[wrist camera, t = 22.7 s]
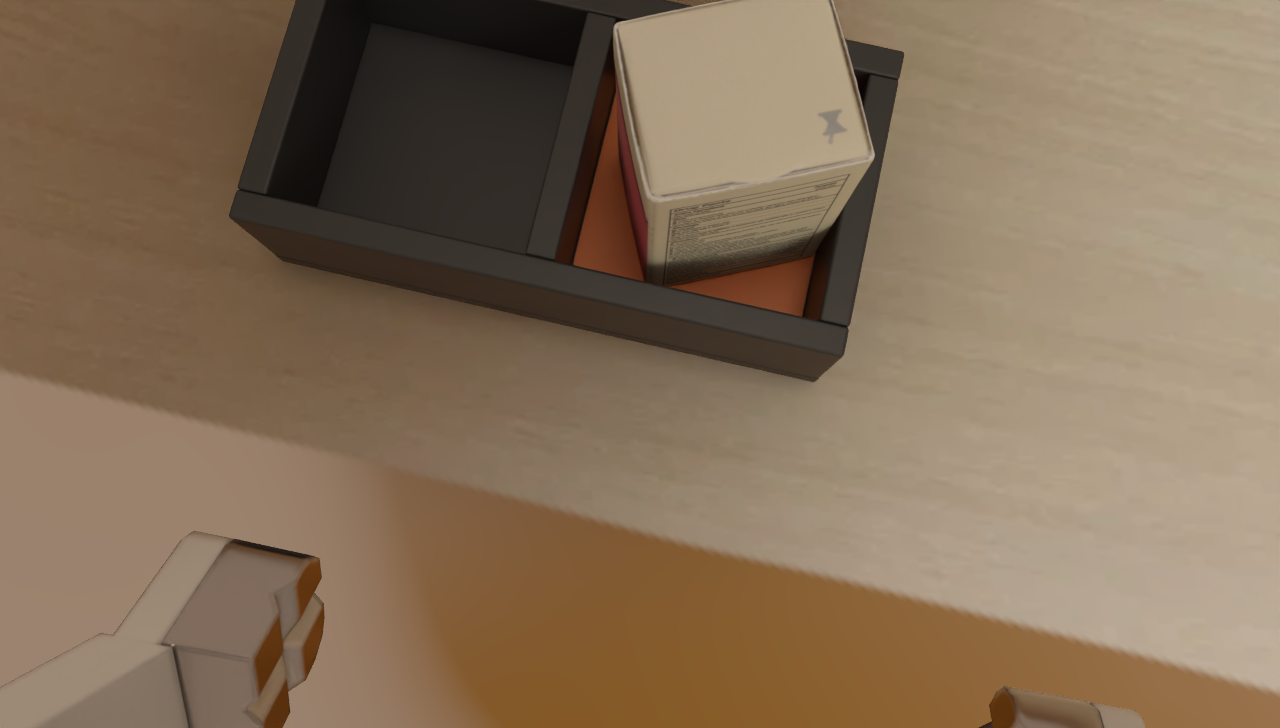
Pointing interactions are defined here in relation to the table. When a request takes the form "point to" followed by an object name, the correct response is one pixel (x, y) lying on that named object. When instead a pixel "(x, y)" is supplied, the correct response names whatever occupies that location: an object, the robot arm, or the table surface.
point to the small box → (736, 134)
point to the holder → (518, 177)
